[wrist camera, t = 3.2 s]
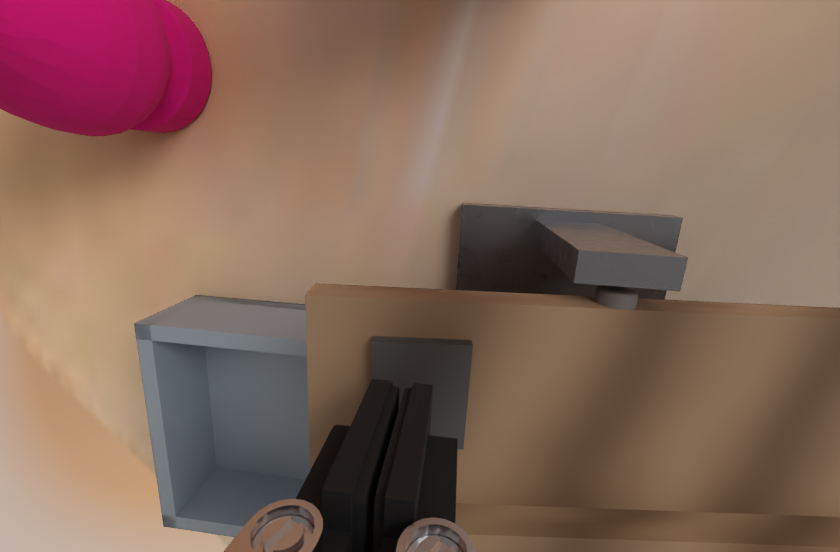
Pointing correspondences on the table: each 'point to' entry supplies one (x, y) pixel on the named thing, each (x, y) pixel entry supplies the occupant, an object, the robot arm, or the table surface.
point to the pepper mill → (102, 65)
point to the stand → (567, 251)
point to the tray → (603, 412)
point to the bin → (225, 408)
